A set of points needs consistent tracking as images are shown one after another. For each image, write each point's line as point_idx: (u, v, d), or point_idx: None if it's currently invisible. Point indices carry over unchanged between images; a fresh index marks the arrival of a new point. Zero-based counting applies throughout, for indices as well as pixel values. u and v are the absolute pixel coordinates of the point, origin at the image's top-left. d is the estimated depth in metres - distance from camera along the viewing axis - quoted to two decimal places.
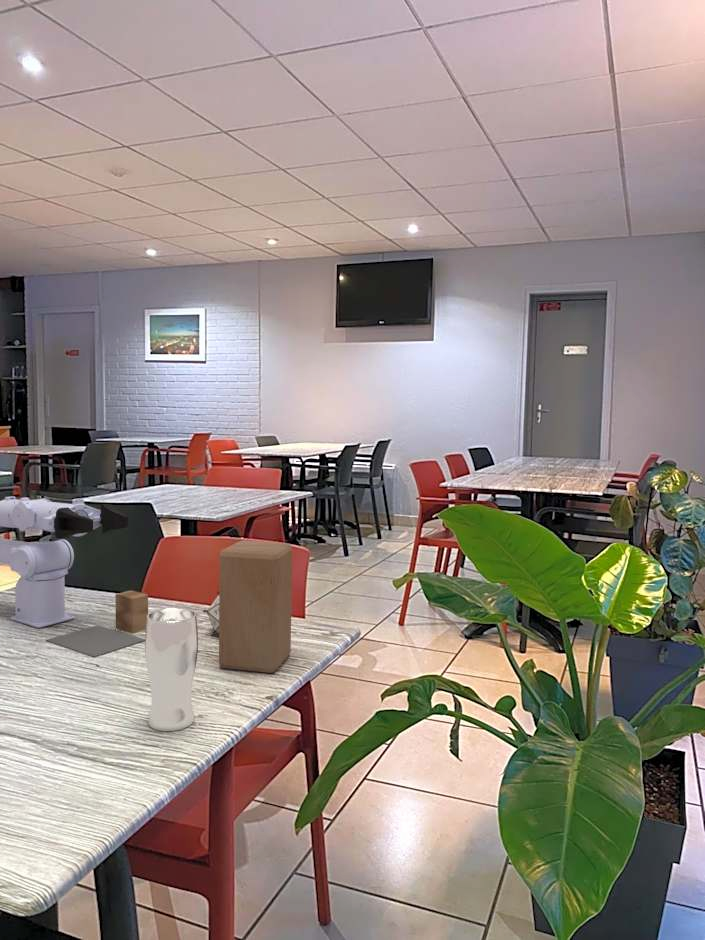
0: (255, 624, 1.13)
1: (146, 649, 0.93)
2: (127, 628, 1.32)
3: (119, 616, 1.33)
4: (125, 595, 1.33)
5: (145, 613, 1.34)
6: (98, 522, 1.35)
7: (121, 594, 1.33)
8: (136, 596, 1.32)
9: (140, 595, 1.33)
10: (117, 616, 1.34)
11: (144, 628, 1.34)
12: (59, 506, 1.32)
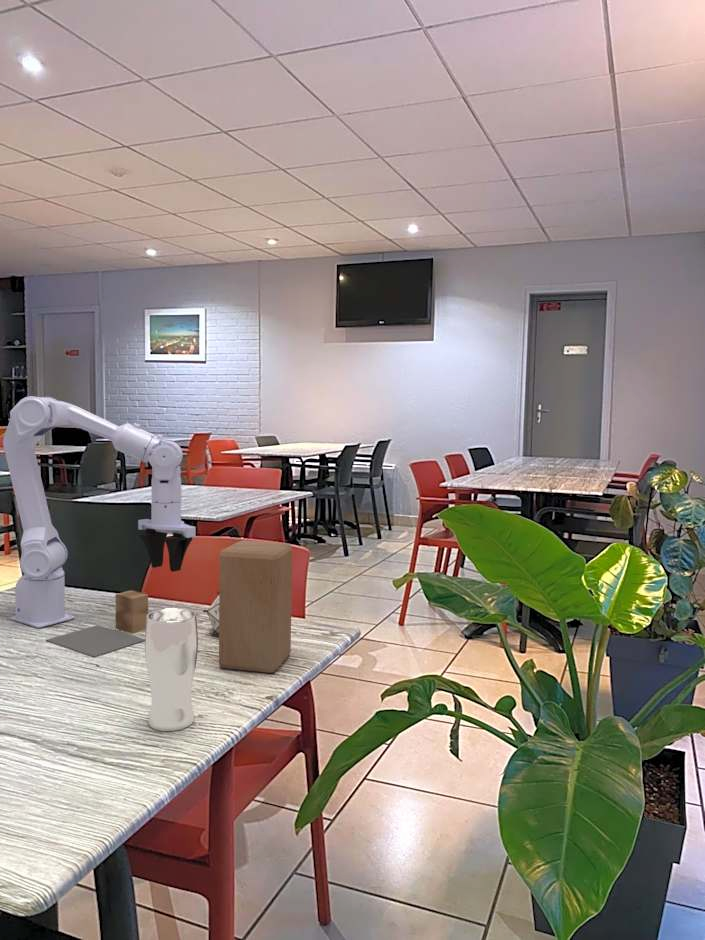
0: (255, 623, 1.13)
1: (146, 649, 0.93)
2: (127, 628, 1.32)
3: (119, 616, 1.33)
4: (125, 595, 1.33)
5: (145, 613, 1.34)
6: None
7: (121, 594, 1.33)
8: (136, 596, 1.32)
9: (140, 595, 1.33)
10: (117, 616, 1.34)
11: (144, 628, 1.34)
12: None
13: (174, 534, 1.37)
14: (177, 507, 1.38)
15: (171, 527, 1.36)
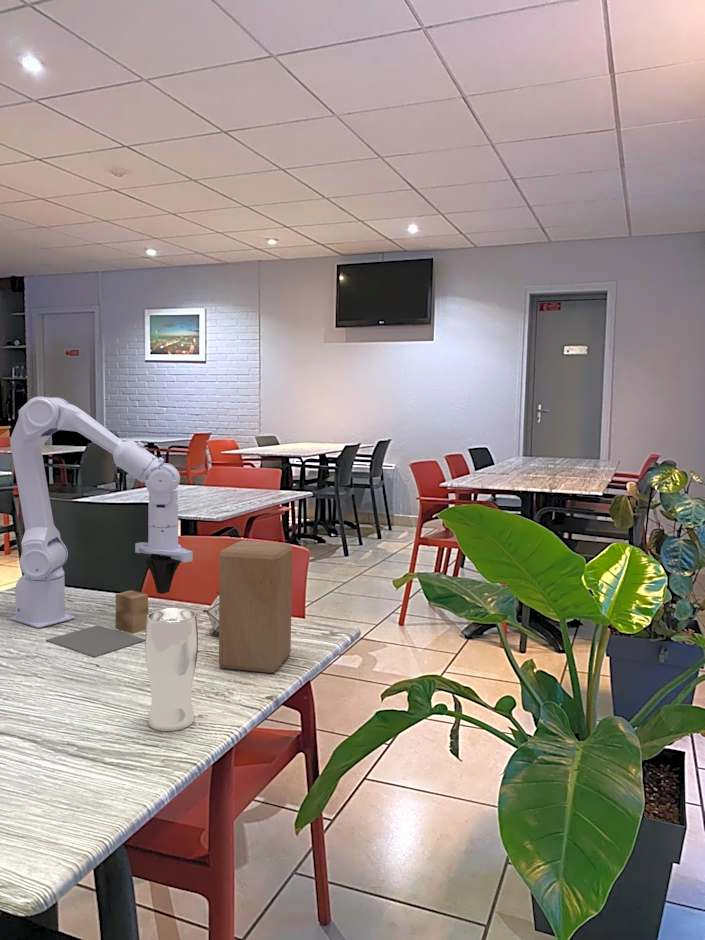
0: (255, 623, 1.13)
1: (146, 649, 0.93)
2: (127, 628, 1.32)
3: (119, 616, 1.33)
4: (125, 595, 1.33)
5: (145, 613, 1.34)
6: None
7: (121, 594, 1.33)
8: (136, 596, 1.32)
9: (140, 595, 1.33)
10: (117, 616, 1.34)
11: (144, 628, 1.34)
12: None
13: (163, 557, 1.38)
14: (174, 531, 1.38)
15: (168, 552, 1.36)
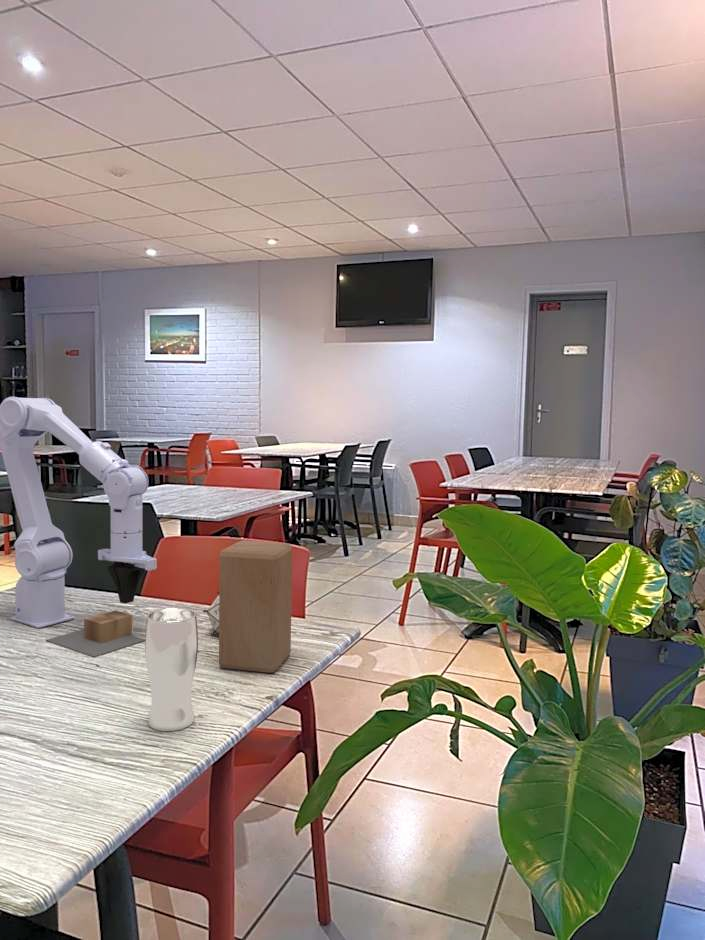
0: (255, 623, 1.13)
1: (146, 649, 0.93)
2: None
3: None
4: (91, 637, 1.27)
5: (117, 622, 1.28)
6: None
7: (87, 636, 1.28)
8: (99, 635, 1.26)
9: (99, 630, 1.26)
10: None
11: (130, 620, 1.31)
12: None
13: (126, 564, 1.31)
14: (138, 537, 1.30)
15: (131, 559, 1.28)
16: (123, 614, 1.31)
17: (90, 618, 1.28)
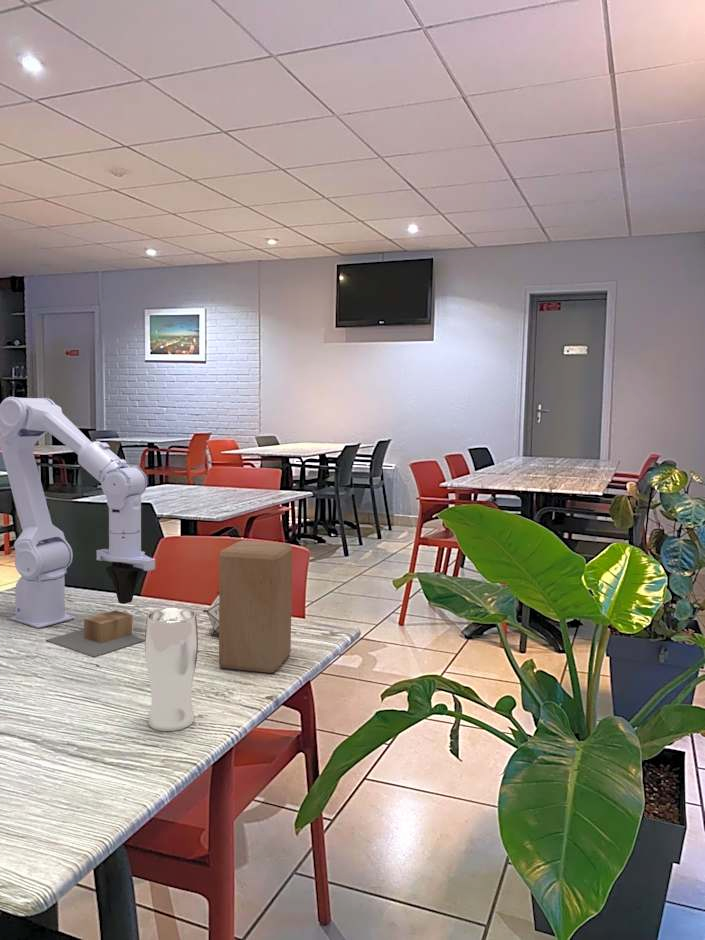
0: (255, 623, 1.13)
1: (146, 649, 0.93)
2: None
3: None
4: (91, 637, 1.27)
5: (117, 622, 1.28)
6: None
7: (87, 636, 1.28)
8: (99, 635, 1.26)
9: (99, 630, 1.26)
10: None
11: (130, 620, 1.31)
12: None
13: (124, 565, 1.31)
14: (136, 538, 1.30)
15: (129, 559, 1.28)
16: (123, 614, 1.31)
17: (90, 618, 1.28)
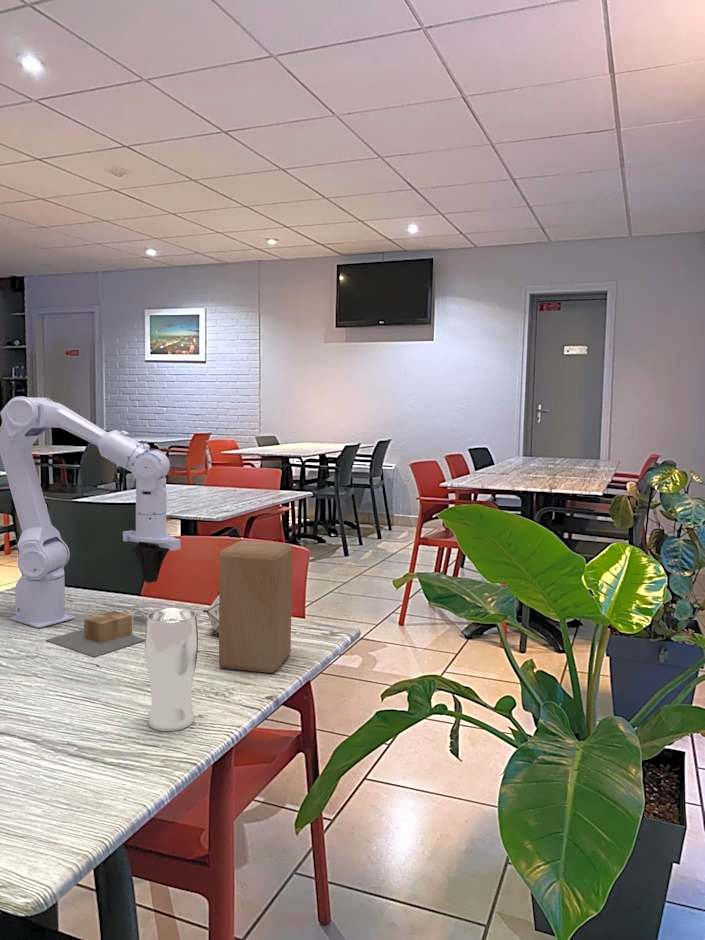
0: (255, 623, 1.13)
1: (146, 649, 0.93)
2: None
3: None
4: (91, 637, 1.27)
5: (117, 622, 1.28)
6: None
7: (87, 636, 1.28)
8: (99, 635, 1.26)
9: (99, 630, 1.26)
10: None
11: (130, 620, 1.31)
12: None
13: (150, 545, 1.36)
14: (162, 519, 1.35)
15: (155, 539, 1.33)
16: (123, 614, 1.31)
17: (90, 618, 1.28)
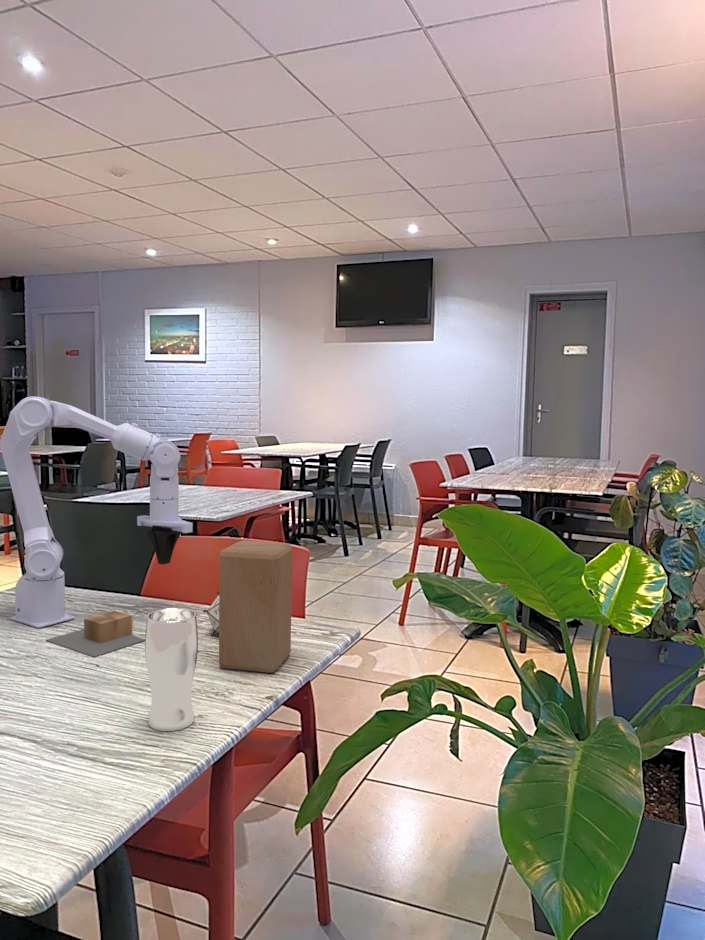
0: (255, 623, 1.13)
1: (146, 649, 0.93)
2: None
3: None
4: (91, 637, 1.27)
5: (117, 622, 1.28)
6: None
7: (87, 636, 1.28)
8: (99, 635, 1.26)
9: (99, 630, 1.26)
10: None
11: (130, 620, 1.31)
12: None
13: (164, 528, 1.43)
14: (175, 504, 1.43)
15: (169, 523, 1.41)
16: (123, 614, 1.31)
17: (90, 618, 1.28)
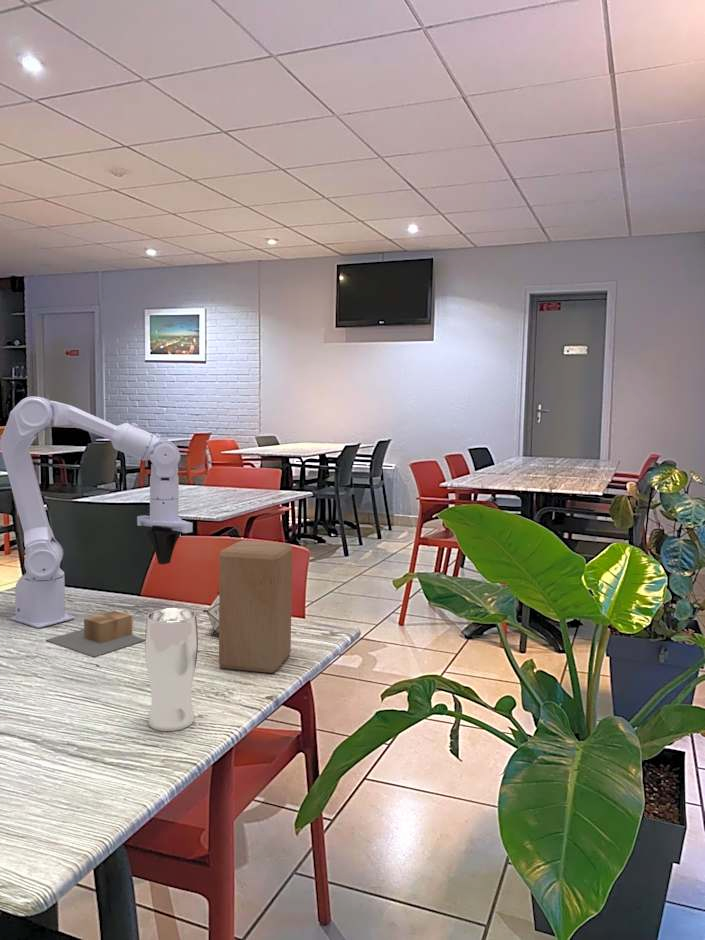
0: (255, 623, 1.13)
1: (146, 649, 0.93)
2: None
3: None
4: (91, 637, 1.27)
5: (117, 622, 1.28)
6: None
7: (87, 636, 1.28)
8: (99, 635, 1.26)
9: (99, 630, 1.26)
10: None
11: (130, 620, 1.31)
12: None
13: (164, 528, 1.43)
14: (175, 504, 1.43)
15: (169, 523, 1.41)
16: (123, 614, 1.31)
17: (90, 618, 1.28)
